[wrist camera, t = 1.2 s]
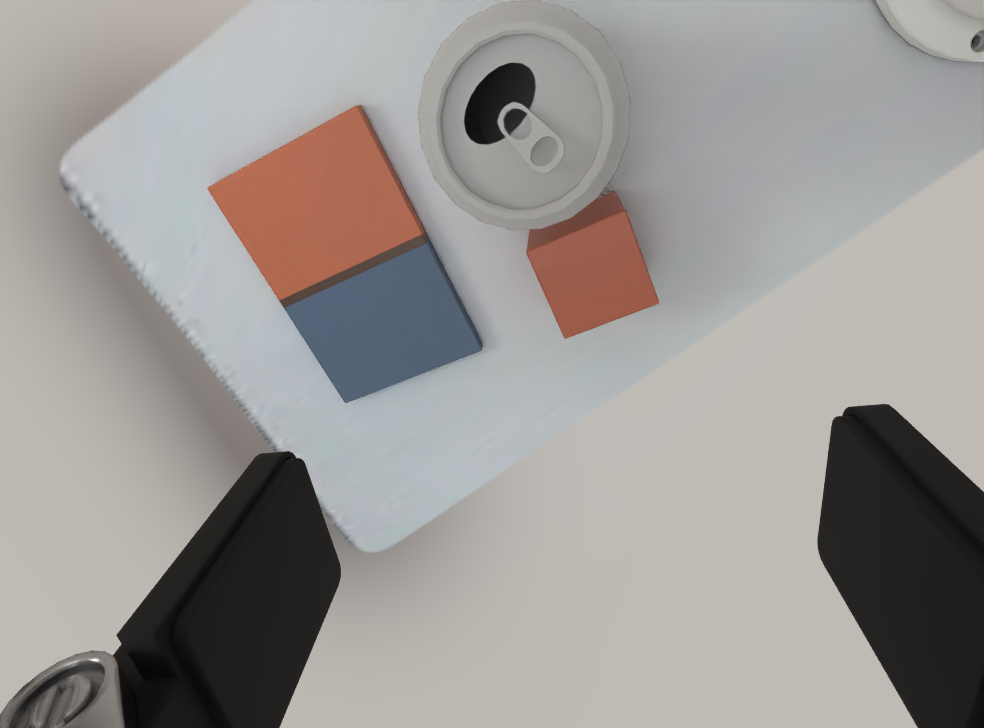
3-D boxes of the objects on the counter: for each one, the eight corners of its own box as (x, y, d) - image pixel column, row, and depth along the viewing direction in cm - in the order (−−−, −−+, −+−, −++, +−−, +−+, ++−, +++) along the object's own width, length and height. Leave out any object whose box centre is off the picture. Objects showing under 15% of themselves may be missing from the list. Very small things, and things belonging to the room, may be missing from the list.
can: (528, -13, 27) (514, -73, 16) (636, 104, 29) (687, 119, 18) (430, 116, 30) (362, 136, 19) (533, 214, 32) (524, 283, 21)
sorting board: (361, 104, 30) (356, 105, 29) (483, 345, 35) (481, 350, 35) (213, 185, 33) (206, 188, 32) (348, 397, 38) (345, 403, 37)
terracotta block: (614, 190, 31) (625, 209, 26) (645, 273, 33) (659, 303, 28) (529, 228, 32) (525, 252, 28) (562, 305, 34) (564, 339, 29)
